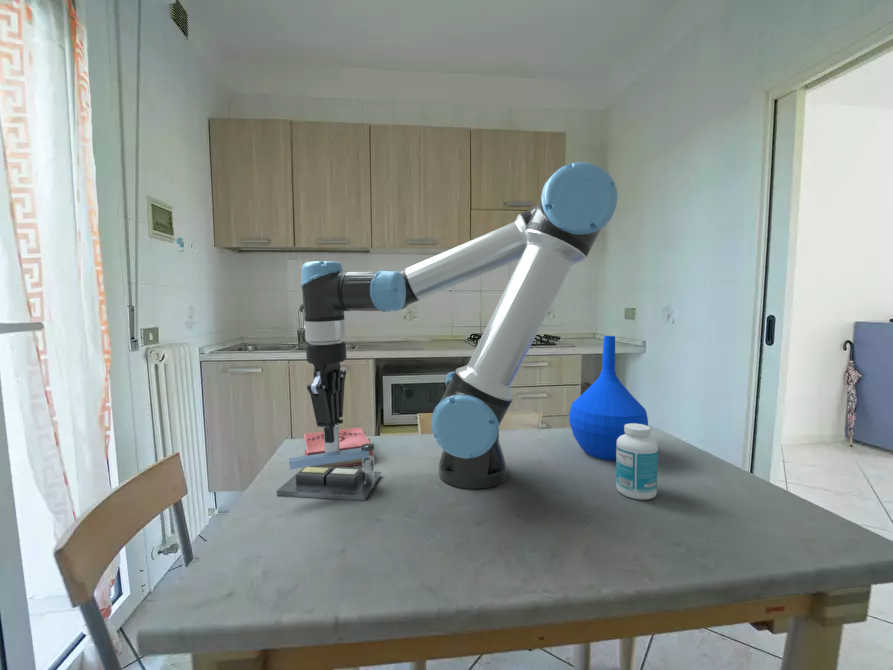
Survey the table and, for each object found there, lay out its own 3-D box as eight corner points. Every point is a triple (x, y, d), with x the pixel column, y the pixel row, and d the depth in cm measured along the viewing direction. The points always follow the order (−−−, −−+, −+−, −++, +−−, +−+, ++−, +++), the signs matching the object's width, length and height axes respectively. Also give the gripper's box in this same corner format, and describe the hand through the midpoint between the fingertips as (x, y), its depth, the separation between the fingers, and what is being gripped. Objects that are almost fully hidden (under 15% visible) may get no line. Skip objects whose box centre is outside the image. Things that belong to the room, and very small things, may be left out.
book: (375, 463, 95) (374, 443, 95) (308, 474, 89) (307, 452, 89) (363, 444, 108) (363, 426, 108) (304, 452, 102) (304, 433, 102)
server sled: (381, 476, 87) (381, 448, 87) (365, 500, 76) (364, 468, 76) (303, 472, 89) (302, 445, 89) (276, 495, 78) (275, 464, 78)
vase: (565, 439, 111) (567, 333, 109) (635, 443, 107) (639, 334, 105) (572, 465, 93) (575, 338, 91) (657, 471, 89) (661, 339, 87)
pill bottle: (655, 488, 81) (657, 423, 80) (657, 504, 74) (660, 434, 73) (615, 481, 84) (617, 419, 83) (614, 496, 77) (616, 429, 76)
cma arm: (372, 452, 83) (372, 442, 83) (375, 456, 81) (375, 446, 80) (289, 465, 77) (289, 454, 76) (289, 470, 74) (289, 459, 74)
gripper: (322, 337, 84) (328, 442, 87) (291, 346, 72) (299, 469, 75) (356, 337, 83) (361, 444, 86) (330, 347, 71) (337, 471, 74)
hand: (332, 455), depth 81 cm, fingers closed
